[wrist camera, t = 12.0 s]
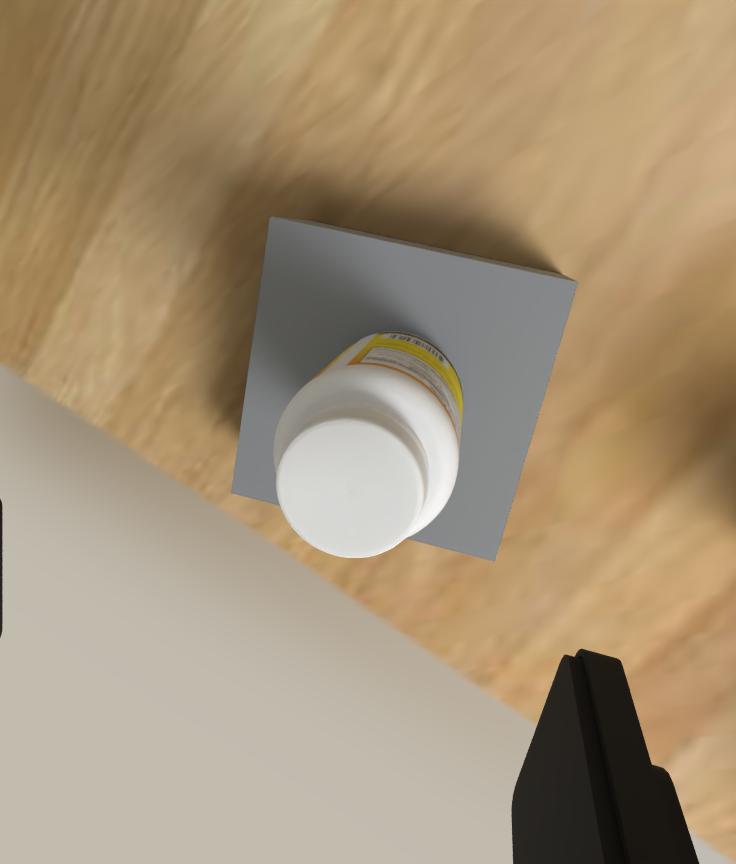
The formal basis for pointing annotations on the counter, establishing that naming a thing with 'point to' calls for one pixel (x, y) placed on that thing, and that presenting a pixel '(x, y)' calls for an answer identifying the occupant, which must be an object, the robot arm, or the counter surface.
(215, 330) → the counter surface
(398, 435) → the supplement bottle
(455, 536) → the base block
